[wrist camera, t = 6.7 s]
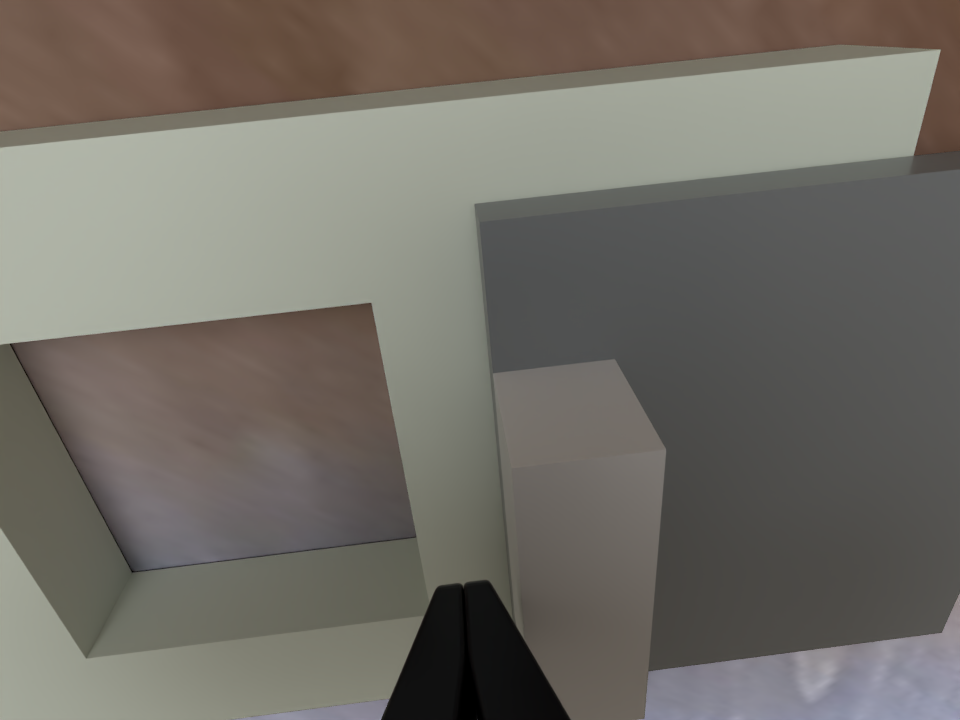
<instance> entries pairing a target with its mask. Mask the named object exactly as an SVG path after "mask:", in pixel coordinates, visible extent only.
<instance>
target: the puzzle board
mask: <svg viewBox="0 0 960 720" xmlns="http://www.w3.org/2000/svg"><path fill="white" fill-rule="evenodd" d="M940 51H941V50H938V49H917V48H897V47H877V46H857V45H832V46H822V47H812V48H803V49H793V50H783V51H774V52H764V53H754V54H745V55H735V56H726V57H716V58H706V59H697V60H687V61H677V62H668V63H658V64H648V65H639V66H629V67H619V68H610V69H600V70H590V71H581V72H571V73H561V74H552V75H542V76H533V77H523V78H513V79H504V80H494V81H484V82H475V83H465V84H455V85H446V86H436V87H426V88H417V89H407V90H397V91H388V92H378V93H368V94H359V95H349V96H339V97H330V98H320V99H311V100H301V101H291V102H282V103H272V104H262V105H253V106H243V107H233V108H224V109H214V110H204V111H195V112H185V113H175V114H166V115H156V116H146V117H137V118H127V119H117V120H108V121H98V122H89V123H79V124H69V125H60V126H50V127H40V128H31V129H21V130H11V131H2V132H0V720H230V719H238V718H246V717H253V716H261V715H269V714H276V713H284V712H291V711H299V710H307V709H314V708H322V707H330V706H337V705H345V704H353V703H360V702H368V701H376V700H383V699H390V697H391V695H392V692H393V690H394V687H395V685H396V683H397V680H398V678H399V675H400V673H401V671H402V668H403V666H404V663H405V661H406V658H407V656H408V654H409V651H410V649H411V646H412V644H413V642H414V639H415V637H416V634H417V632H418V630H419V627H420V625H421V622H422V620H423V617H424V615H425V613H426V610H427V608H428V605H429V603H430V601H431V598H432V596H433V593H434V591H435V589H436V588H437V587H438V586H440V585H445V584H453V583H460V584H462V585H463V588H464V584H465V583H466V582H469V581H477V580H489V581H490V582H491V584H492V585H493V587H494V589H495V590H496V592H497V594H498V595H499V597H500V599H501V601H502V602H503V604H504V606H505V607H506V609H507V611H508V613H509V614H510V616H511V618H512V619H513V616H512V606H511V595H510V584H509V573H508V562H507V552H506V541H505V530H504V519H503V508H502V498H501V487H500V476H499V465H498V454H497V444H496V433H495V422H494V411H493V400H492V389H491V379H490V368H489V357H488V346H487V335H486V325H485V314H484V303H483V292H482V281H481V271H480V260H479V249H478V238H477V227H476V216H475V206H474V204H477V203H486V202H495V201H505V200H514V199H523V198H532V197H541V196H550V195H560V194H569V193H578V192H587V191H596V190H605V189H615V188H624V187H633V186H642V185H651V184H660V183H670V182H679V181H688V180H697V179H706V178H715V177H725V176H734V175H743V174H752V173H761V172H770V171H780V170H789V169H798V168H807V167H816V166H825V165H835V164H844V163H853V162H862V161H871V160H880V159H890V158H899V157H908V156H914V152H915V148H916V144H917V140H918V136H919V132H920V129H921V125H922V121H923V117H924V113H925V109H926V105H927V101H928V97H929V94H930V90H931V86H932V82H933V78H934V74H935V70H936V66H937V62H938V59H939V55H940ZM364 303H372V308H373V314H374V319H375V324H376V329H377V334H378V340H379V345H380V350H381V355H382V360H383V366H384V371H385V376H386V381H387V386H388V392H389V397H390V402H391V407H392V412H393V417H394V423H395V428H396V433H397V438H398V443H399V449H400V454H401V459H402V464H403V469H404V475H405V480H406V485H407V490H408V495H409V501H410V506H411V511H412V516H413V521H414V527H415V532H416V537H417V538H409V539H401V540H393V541H385V542H377V543H369V544H360V545H352V546H344V547H336V548H328V549H320V550H312V551H304V552H296V553H288V554H280V555H272V556H264V557H255V558H247V559H239V560H231V561H223V562H215V563H207V564H199V565H191V566H183V567H175V568H167V569H159V570H150V571H142V572H134V573H132V572H131V570H130V568H129V566H128V564H127V563H126V561H125V559H124V557H123V555H122V553H121V551H120V549H119V548H118V546H117V544H116V542H115V540H114V538H113V536H112V535H111V533H110V531H109V529H108V527H107V525H106V523H105V521H104V520H103V518H102V516H101V514H100V512H99V510H98V508H97V506H96V505H95V503H94V501H93V499H92V497H91V495H90V493H89V492H88V490H87V488H86V486H85V484H84V482H83V480H82V478H81V477H80V475H79V473H78V471H77V469H76V467H75V465H74V464H73V462H72V460H71V458H70V456H69V454H68V452H67V450H66V449H65V447H64V445H63V443H62V441H61V439H60V437H59V435H58V434H57V432H56V430H55V428H54V426H53V424H52V422H51V421H50V419H49V417H48V415H47V413H46V411H45V409H44V407H43V406H42V404H41V402H40V400H39V398H38V396H37V394H36V393H35V391H34V389H33V387H32V385H31V383H30V381H29V379H28V378H27V376H26V374H25V372H24V370H23V368H22V366H21V364H20V363H19V361H18V359H17V357H16V355H15V353H14V351H13V350H12V348H11V346H10V343H19V342H27V341H36V340H45V339H54V338H63V337H72V336H80V335H89V334H98V333H107V332H116V331H125V330H134V329H142V328H151V327H160V326H169V325H178V324H187V323H195V322H204V321H213V320H222V319H231V318H240V317H249V316H257V315H266V314H275V313H284V312H293V311H302V310H311V309H319V308H328V307H337V306H346V305H355V304H364Z"/></svg>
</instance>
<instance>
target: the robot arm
mask: <svg viewBox="0 0 960 720" xmlns="http://www.w3.org/2000/svg"><path fill="white" fill-rule="evenodd" d="M381 720H571V719H570V717H569V715H568V714H567V712H566V710H565V709H564V707H563V705H562V703H561V702H560V700H559V698H558V697H557V695H556V693H555V691H554V690H553V688H552V686H551V685H550V683H549V681H548V679H547V678H546V676H545V674H544V673H543V671H542V669H541V667H540V666H539V664H538V662H537V661H536V659H535V657H534V655H533V654H532V652H531V650H530V649H529V647H528V645H527V643H526V642H525V640H524V638H523V637H522V635H521V633H520V631H519V630H518V628H517V626H516V625H515V623H514V621H513V619H512V618H511V616H510V614H509V613H508V611H507V609H506V607H505V606H504V604H503V602H502V601H501V599H500V597H499V595H498V594H497V592H496V590H495V589H494V587H493V585H492V584H491V582H490V581H489V580H477V581H469V582H466V583H465V584H464V588H463V585H462V584H460V583H453V584H445V585H440V586H438V587H437V588H436V589H435V591H434V593H433V596H432V598H431V601H430V603H429V605H428V608H427V610H426V613H425V615H424V617H423V620H422V622H421V625H420V627H419V630H418V632H417V634H416V637H415V639H414V642H413V644H412V646H411V649H410V651H409V654H408V656H407V658H406V661H405V663H404V666H403V668H402V671H401V673H400V675H399V678H398V680H397V683H396V685H395V687H394V690H393V692H392V695H391V697H390V699H389V702H388V704H387V707H386V709H385V712H384V714H383V716H382V719H381Z"/></svg>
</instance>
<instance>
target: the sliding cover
mask: <svg viewBox="0 0 960 720" xmlns="http://www.w3.org/2000/svg"><path fill="white" fill-rule="evenodd" d="M474 206H475V216H476V227H477V238H478V249H479V260H480V271H481V281H482V292H483V303H484V314H485V325H486V335H487V346H488V357H489V368H490V379H491V389H492V400H493V411H494V422H495V433H496V444H497V454H498V465H499V476H500V487H501V498H502V508H503V519H504V530H505V541H506V552H507V562H508V573H509V584H510V595H511V606H512V616H513V621H514V623H515V625H516V626H517V628H518V630H519V631H520V633H521V635H522V637H523V638H524V640H525V642H526V643H527V645H528V647H529V649H530V650H531V652H532V654H533V655H534V657H535V659H536V661H537V662H538V664H539V666H540V667H541V669H542V671H543V673H544V674H545V676H546V678H547V679H548V681H549V683H550V685H551V686H552V688H553V690H554V691H555V693H556V695H557V697H558V698H559V700H560V702H561V703H562V705H563V707H564V709H565V710H566V712H567V714H568V715H569V717H570V719H571V720H637V719H644V717H645V705H646V693H647V680H648V671H653V670H661V669H668V668H676V667H684V666H691V665H699V664H707V663H714V662H722V661H729V660H737V659H745V658H752V657H760V656H768V655H775V654H783V653H790V652H798V651H806V650H813V649H821V648H829V647H836V646H844V645H851V644H859V643H867V642H874V641H882V640H890V639H897V638H905V637H912V636H920V635H928V634H935V633H942V631H943V628H944V626H945V624H946V622H947V619H948V617H949V615H950V613H951V611H952V608H953V606H954V604H955V602H956V599H957V597H958V595H959V593H960V151H954V152H945V153H935V154H926V155H917V156H908V157H899V158H890V159H880V160H871V161H862V162H853V163H844V164H835V165H825V166H816V167H807V168H798V169H789V170H780V171H770V172H761V173H752V174H743V175H734V176H725V177H715V178H706V179H697V180H688V181H679V182H670V183H660V184H651V185H642V186H633V187H624V188H615V189H605V190H596V191H587V192H578V193H569V194H560V195H550V196H541V197H532V198H523V199H514V200H505V201H495V202H486V203H477V204H474Z"/></svg>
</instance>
